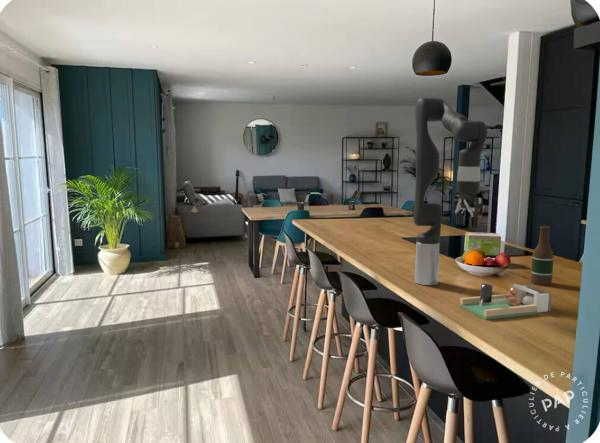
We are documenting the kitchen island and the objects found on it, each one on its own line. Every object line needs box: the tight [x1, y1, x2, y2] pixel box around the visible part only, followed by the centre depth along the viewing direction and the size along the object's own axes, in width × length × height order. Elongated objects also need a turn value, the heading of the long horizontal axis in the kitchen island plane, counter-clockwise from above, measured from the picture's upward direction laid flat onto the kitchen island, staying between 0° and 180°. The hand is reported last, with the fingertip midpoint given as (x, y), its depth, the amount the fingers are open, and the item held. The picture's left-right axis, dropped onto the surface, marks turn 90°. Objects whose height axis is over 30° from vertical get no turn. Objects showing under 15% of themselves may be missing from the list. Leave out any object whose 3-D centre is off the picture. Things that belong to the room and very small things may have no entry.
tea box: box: [463, 231, 502, 258], centre depth 231 cm, size 15×10×15 cm, turn 81°
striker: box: [479, 283, 521, 306], centre depth 161 cm, size 5×14×8 cm, turn 106°
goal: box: [512, 283, 553, 313], centre depth 165 cm, size 11×6×7 cm, turn 16°
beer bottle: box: [530, 225, 555, 287], centre depth 194 cm, size 8×8×24 cm
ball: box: [522, 296, 534, 305], centre depth 165 cm, size 4×4×4 cm
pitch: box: [459, 293, 538, 321], centre depth 161 cm, size 14×20×3 cm
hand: (466, 225), depth 165 cm, fingers open, 8 cm apart
